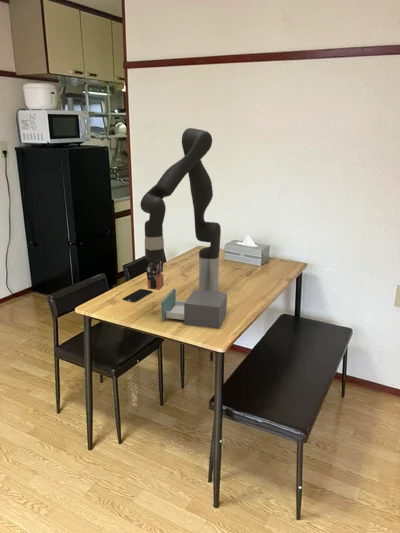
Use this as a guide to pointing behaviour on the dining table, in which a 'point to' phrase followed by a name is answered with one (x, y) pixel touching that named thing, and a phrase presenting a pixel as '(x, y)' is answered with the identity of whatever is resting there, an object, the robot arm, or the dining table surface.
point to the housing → (205, 309)
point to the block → (158, 282)
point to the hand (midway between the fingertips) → (155, 286)
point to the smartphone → (137, 295)
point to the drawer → (172, 306)
